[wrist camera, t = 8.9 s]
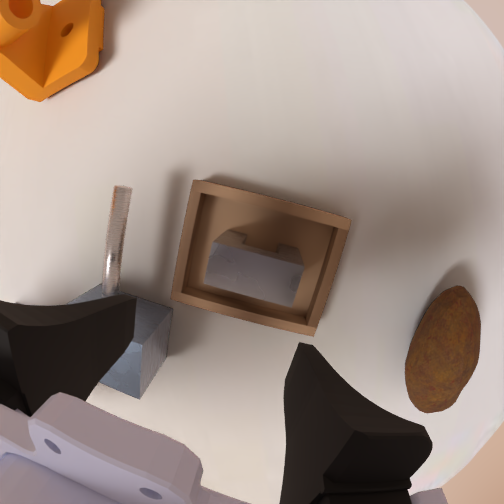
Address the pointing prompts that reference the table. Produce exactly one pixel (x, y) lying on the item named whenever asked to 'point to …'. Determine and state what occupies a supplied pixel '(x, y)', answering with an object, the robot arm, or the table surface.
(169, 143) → the table surface
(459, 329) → the potato
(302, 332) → the tray
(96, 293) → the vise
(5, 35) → the bracket
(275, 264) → the block
